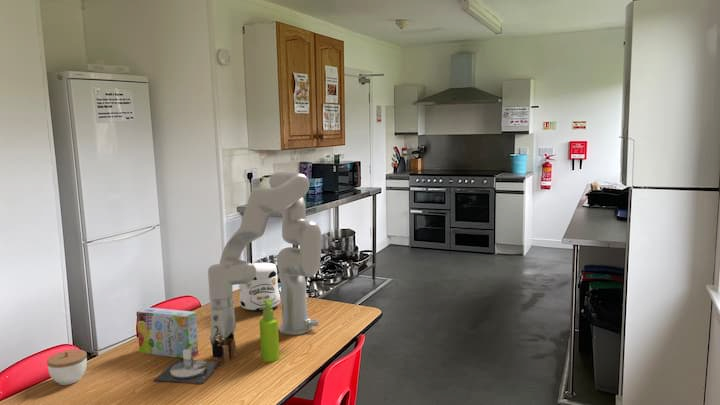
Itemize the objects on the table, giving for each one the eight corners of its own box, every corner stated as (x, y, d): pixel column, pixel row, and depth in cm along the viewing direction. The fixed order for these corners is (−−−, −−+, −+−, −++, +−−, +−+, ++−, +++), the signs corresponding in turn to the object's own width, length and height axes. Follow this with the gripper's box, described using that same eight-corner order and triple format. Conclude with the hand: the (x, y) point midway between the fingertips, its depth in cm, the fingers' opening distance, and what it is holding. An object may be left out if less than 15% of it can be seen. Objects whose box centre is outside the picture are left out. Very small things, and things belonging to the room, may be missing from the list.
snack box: (199, 353, 179) (196, 311, 177) (189, 360, 174) (186, 316, 172) (149, 346, 186) (146, 306, 184) (138, 353, 181) (134, 311, 179)
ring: (239, 352, 178) (238, 338, 178) (231, 361, 171) (230, 347, 171) (219, 351, 179) (219, 338, 179) (211, 360, 173) (210, 346, 172)
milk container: (261, 317, 212) (259, 274, 210) (231, 310, 222) (228, 269, 219) (289, 304, 227) (287, 264, 224) (260, 298, 236) (257, 260, 234)
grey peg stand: (222, 363, 170) (220, 341, 169) (202, 383, 157) (201, 359, 156) (176, 361, 173) (174, 339, 172) (153, 381, 159) (151, 357, 158)
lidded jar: (95, 371, 167) (92, 343, 166) (78, 388, 156) (75, 358, 155) (61, 373, 167) (58, 345, 165) (42, 389, 156) (38, 359, 155)
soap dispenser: (265, 364, 169) (262, 305, 166) (259, 356, 175) (256, 299, 172) (282, 360, 171) (279, 301, 168) (276, 352, 177) (273, 296, 175)
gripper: (221, 310, 164) (223, 362, 166) (241, 294, 181) (244, 341, 183) (198, 309, 165) (201, 361, 167) (221, 293, 182) (223, 340, 184)
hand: (223, 351), depth 175 cm, fingers open, 9 cm apart
